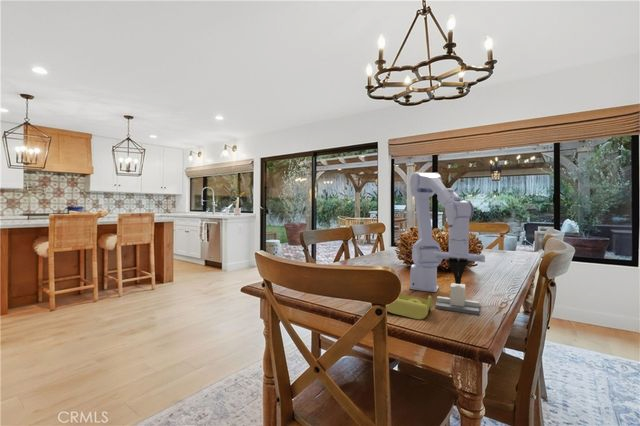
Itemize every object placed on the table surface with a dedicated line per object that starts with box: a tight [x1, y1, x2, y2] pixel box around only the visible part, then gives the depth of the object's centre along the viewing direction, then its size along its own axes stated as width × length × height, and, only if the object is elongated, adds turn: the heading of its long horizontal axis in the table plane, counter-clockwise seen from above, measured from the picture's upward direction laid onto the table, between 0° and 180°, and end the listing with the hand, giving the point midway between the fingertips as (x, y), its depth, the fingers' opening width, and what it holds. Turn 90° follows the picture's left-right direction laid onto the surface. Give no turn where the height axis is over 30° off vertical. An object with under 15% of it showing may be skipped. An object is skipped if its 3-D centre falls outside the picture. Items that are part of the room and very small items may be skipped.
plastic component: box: [386, 293, 434, 320], centre depth 95 cm, size 20×7×10 cm
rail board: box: [434, 295, 480, 316], centre depth 97 cm, size 12×10×2 cm
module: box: [449, 282, 466, 306], centre depth 97 cm, size 4×5×6 cm
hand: (458, 283), depth 97 cm, fingers closed
